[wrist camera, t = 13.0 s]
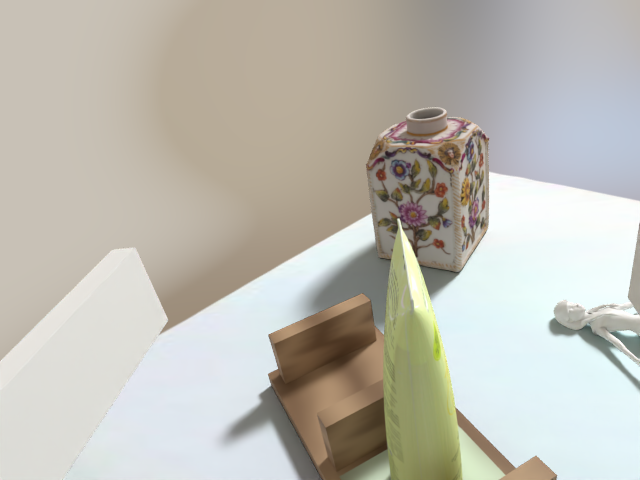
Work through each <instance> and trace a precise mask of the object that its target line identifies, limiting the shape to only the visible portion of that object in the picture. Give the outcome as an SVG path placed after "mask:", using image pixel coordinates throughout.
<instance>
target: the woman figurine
mask: <svg viewBox="0 0 640 480" xmlns="http://www.w3.org/2000/svg"><path fill="white" fill-rule="evenodd" d="M606 306H611V307H606ZM604 307H606V308H604ZM632 307H634V306H633V305H632V303H631V302H627V303H624V304H621V305H618V304H614V303H612V304H609V305H608V304H607V305H601V306H598V307H595V308H592V309H590V310H587V311H586V312H585V308H584V307H583V306H582V305H580V304H578V303H576V304H574V303H572V302H568V301H566V300H563V301H560V302H559V303H558V304H557V305H556V306H555V308H554V315H555V318H556V320H557V321H558V322H559V323H560V324H561V325H563V326H565V327H567V328H570V329H573V330H579V329H582V328H583V327H584V326H586V325H587V324H588V323H589V324H590V326H591V329H592V331H593V333H594V334H595V335H600V336H601V337H603V338H605V339H606V340H608V341H609V342H611V343H612V344H613V345H614V346H615V347H616V348H617V349H618V350H620V351H621V352H623V353H624V354H625V355H627V356H628V357H629V358H630V359H631V360H633V361H634V362H635V363H636V364H638V365H639V366H640V359H638V358H637V357H636V356H635V355H633V354H632V353H631V352H630V351H629V350H628V349H627V348H626V347H625V346H624V344H623V343H622V342H621V341H620V340H619V339H617V338H616V337H614V336H613V335H612V334H610V333H609V332H615V331H624V330H631V331H633V332H635V333H636V334H637V335H638V336H640V315H639V314H638V315H632V314H630V313H627V312H624V310H627V309H629V308H632ZM601 308H604V309H601Z"/></svg>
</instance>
